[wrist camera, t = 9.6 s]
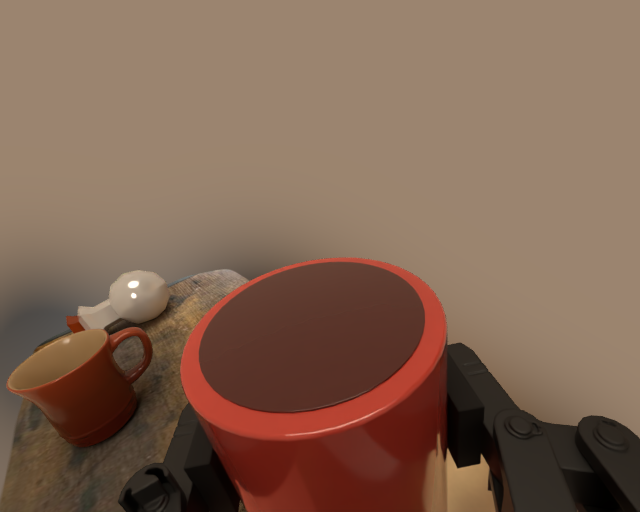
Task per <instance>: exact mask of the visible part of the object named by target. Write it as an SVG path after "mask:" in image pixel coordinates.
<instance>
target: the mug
mask: <svg viewBox="0 0 640 512" xmlns="http://www.w3.org/2000/svg"><path fill="white" fill-rule="evenodd" d="M131 336H138V337H139V338H140V340H141V342H142V344H143V348H144V354H143V357H142V359H141V361H140V362H139V363H138V364H137V365H136V366H134V367H133V368H131V369H129V370H126V371H124V370H122V369H121V368H120V367H119V366H118V364H117V363H116V361H115V359H114V357H113V352H114V351H115V349H116V348H117V346H118V345H119V344H120V343H121V342H122V341H123V340H125V339H127V338H128V337H131ZM152 353H153V349H152V344H151V341H150V339H149V337H148V335H147V334H146V332H145V331H144V330H143V329H141V328H138V327H130V328H126V329H124V330H121V331H119V332H117V333H114V334H112V335H109V334H108V333H107V331H105V330H104V329H90V330H85V331H81V332H77V333H74V334H71V335H69V336H66V337H64V338H62V339H59V340H57V341H55V342H53V343H51V344H49V345H48V346H46V347H44V348H42V349H41V350H39V351H38V352H36V353H35V354H33V355H32V356H30V357H29V358H28V359H26V360H25V361H24V362H23V363H22V364H20V365H19V366H18V367H17V368H16V369H15V370H14V372H13V373H12V374H11V375H10V377H9V378H8V380H7V389H8V390H9V391H10V392H12V393H14V394H17V395H19V396H21V397H23V398H25V399H27V400H29V401H30V402H32V403H34V404H35V405H36V406H37V407H38V408H39V409H40V410H41V411H42V412H43V414H44V415H45V416H46V418H47V419H48V421H49V422H50V423H51V424H52V426H53V427H54V428H55V429H56V430H57V432H58V433H59V435H60V436H61V437H62V438H64V439H65V440H66V441H67V442H68V443H71V444H73V445H74V446H77V447H88V446H92V445H95V444H97V443H100V442H102V441H104V440H106V439H108V438H109V437H111V436H112V435H114V434H115V433H117V432H118V431H119V430H120V429H121V428H122V427H123V426H124V425H125V424H126V423H127V422H128V420H129V419H130V418H131V416H132V415H133V413H134V411H135V409H136V407H137V398H136V393H135V391H134V388H133V385H132V383H133V382H135V381H136V380H137V379H138V378H139V377H140V376H141V375H142V374H143V372H144V371H145V370H146V369H147V367H148V366H149V364H150V362H151V359H152Z"/></svg>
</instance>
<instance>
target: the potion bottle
mask: <svg viewBox="0 0 640 512" xmlns="http://www.w3.org/2000/svg"><path fill="white" fill-rule="evenodd" d="M169 296H170V293H169V290H168V287H167V284H166V281H165V280H163V279H162V278H161V277H160V276H158V275H157V274H156V273H155V272H148V271H142V270H136V271H132V272H127V273H123V274H122V275H121V276H120V277H119V278H118V279H117V280H116V281H115V282H114V283H113V284H112V285H111V287H110V292H109V297H108V300H106V301H104V302H102V303H100V304H99V305H97V306H95V307H80V306H79V307H78V315H77V316H73V317H72V316H67V317H66V318H67V325H68V327H69V328H70V329H71V330H72V332H73V333H77V332H81V331H85V330H90V329H104V330H105V331H107V333H108V330H109V328H110V327H112V326H114V325H116V324H117V323H119V322H121V321H122V320H126V321H129V322H133V323H137V324H140V323H143V322H146V321H149V320H152V319H155V318H156V317H157V316H158V315H159V314H160V313H161V312H163V311H164V310H165V308H166V305H167V302H168V299H169Z"/></svg>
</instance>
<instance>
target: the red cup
mask: <svg viewBox="0 0 640 512" xmlns="http://www.w3.org/2000/svg"><path fill="white" fill-rule="evenodd" d="M180 376H181V383H182V388H183V390H184V393H185V395H186V398H187V400H188V402H189V404H190V406H191V408H192V409H193V411H194V413H195V415H196V417H197V419H198V421H199V423H200V425H201V426H202V428H203V430H204V432H205V434H206V436H207V438H208V440H209V442H210V443H211V445H212V447H213V449H214V451H215V453H216V455H217V457H218V458H219V460H220V462H221V464H222V466H223V468H224V470H225V472H226V474H227V475H228V477H229V479H230V481H231V483H232V485H233V487H234V489H235V491H236V492H237V494H238V496H239V498H240V500H241V502H242V504H243V506H244V508H245V509H246V511H247V512H448V479H447V322H446V315H445V313H444V310H443V307H442V304H441V302H440V301H439V299H438V297H437V296H436V294H435V293H434V291H433V290H432V289H431V288H430V287H429V286H428V285H427V284H426V283H425V282H424V281H422V280H421V279H420V278H419V277H417V276H415V275H414V274H412V273H411V272H409V271H407V270H404V269H402V268H400V267H397V266H394V265H391V264H389V263H384V262H381V261H376V260H370V259H362V258H327V259H318V260H311V261H306V262H301V263H297V264H293V265H290V266H286V267H283V268H280V269H277V270H274V271H271V272H269V273H266V274H264V275H262V276H259V277H257V278H255V279H253V280H251V281H249V282H247V283H246V284H244V285H242V286H240V287H239V288H237V289H235V290H234V291H232V292H231V293H229V294H228V295H227V296H225V297H224V298H223V299H221V300H220V301H219V302H218V303H217V304H216V305H214V306H213V307H212V308H211V309H210V310H209V311H208V312H207V313H206V314H205V315H204V316H203V317H202V319H201V320H200V321H199V323H198V324H197V325H196V326H195V328H194V330H193V331H192V333H191V335H190V336H189V338H188V340H187V343H186V345H185V347H184V351H183V355H182V358H181V370H180Z"/></svg>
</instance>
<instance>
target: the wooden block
mask: <svg viewBox="0 0 640 512" xmlns="http://www.w3.org/2000/svg"><path fill="white" fill-rule="evenodd" d="M488 475H489V466H488V464H487V463H486V461H485V459H484V457H483V456H482V454H481V463H480V464H477V465H472V466H468V467H463V468H458V469H457V467H456V464H455V462H454V460H453V458H452V456H451V454H450V452H449V450H448V448H447V479H448V512H496V511H495V506H494V500H493V495H492V491H489V490H488Z"/></svg>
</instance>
